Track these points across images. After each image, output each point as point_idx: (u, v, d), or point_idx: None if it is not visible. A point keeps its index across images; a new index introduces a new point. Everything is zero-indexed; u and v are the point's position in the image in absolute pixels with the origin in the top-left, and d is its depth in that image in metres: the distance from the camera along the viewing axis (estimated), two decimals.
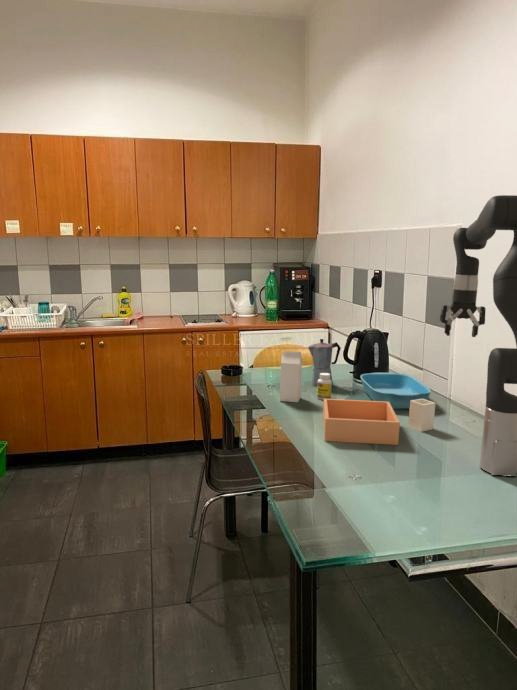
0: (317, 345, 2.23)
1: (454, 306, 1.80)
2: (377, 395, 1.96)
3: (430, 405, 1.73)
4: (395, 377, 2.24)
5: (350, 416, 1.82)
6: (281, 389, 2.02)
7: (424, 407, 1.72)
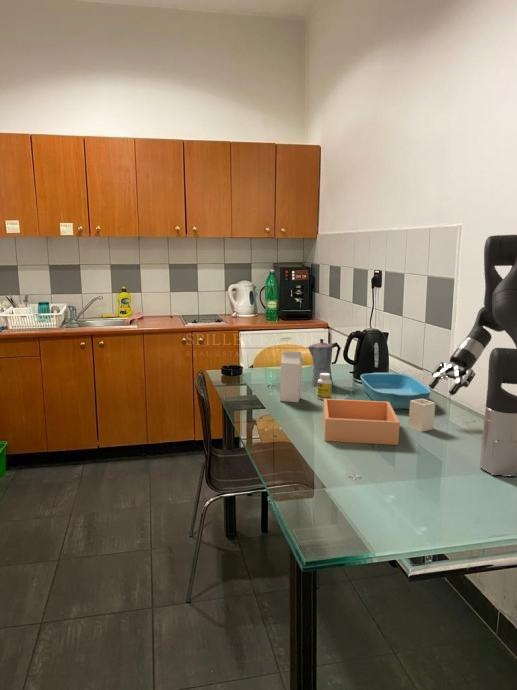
0: (317, 345, 2.23)
1: (448, 363, 1.83)
2: (377, 395, 1.96)
3: (430, 405, 1.73)
4: (395, 377, 2.24)
5: (350, 416, 1.82)
6: (281, 389, 2.02)
7: (424, 407, 1.72)
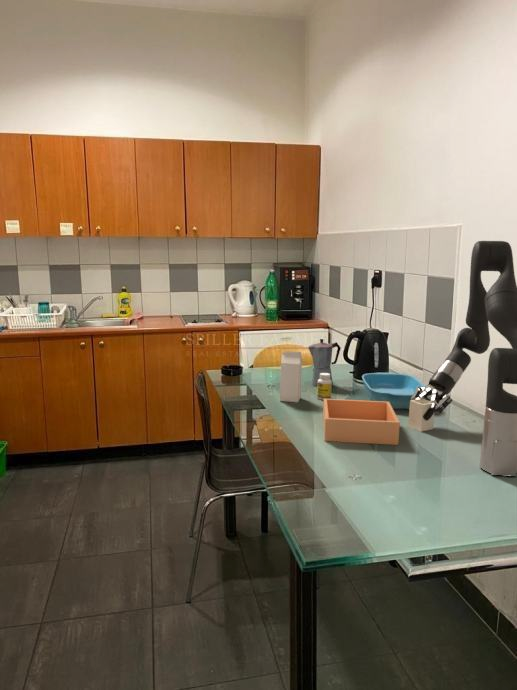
0: (317, 345, 2.23)
1: (426, 386, 1.79)
2: (374, 394, 1.97)
3: (430, 405, 1.73)
4: (398, 377, 2.24)
5: (350, 416, 1.82)
6: (281, 389, 2.02)
7: (424, 406, 1.72)
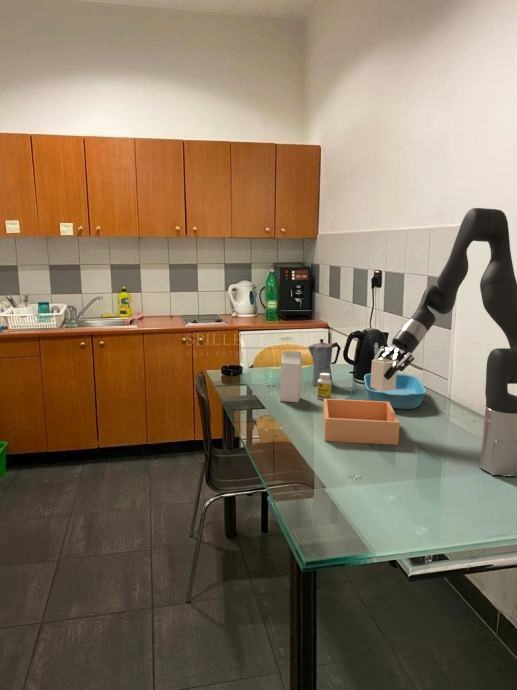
0: (317, 345, 2.23)
1: (389, 346, 1.75)
2: (369, 393, 1.98)
3: (391, 364, 1.68)
4: (402, 378, 2.23)
5: (350, 416, 1.82)
6: (281, 389, 2.02)
7: (385, 365, 1.67)
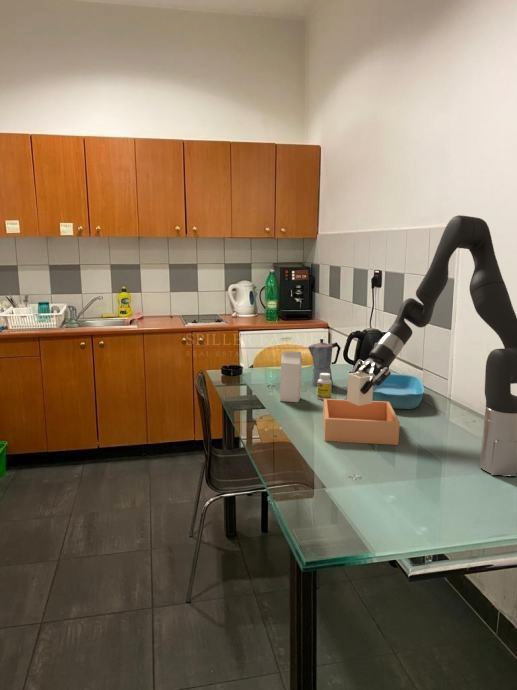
0: (317, 345, 2.23)
1: (366, 360, 1.74)
2: None
3: None
4: (404, 378, 2.23)
5: (350, 416, 1.82)
6: (281, 389, 2.02)
7: (361, 379, 1.66)
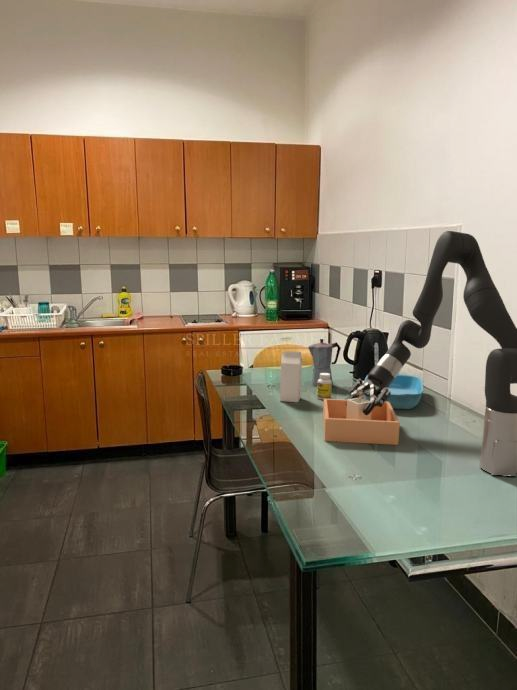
0: (317, 345, 2.23)
1: (365, 381, 1.75)
2: None
3: (366, 404, 1.69)
4: (407, 378, 2.22)
5: None
6: (281, 389, 2.02)
7: (360, 406, 1.67)
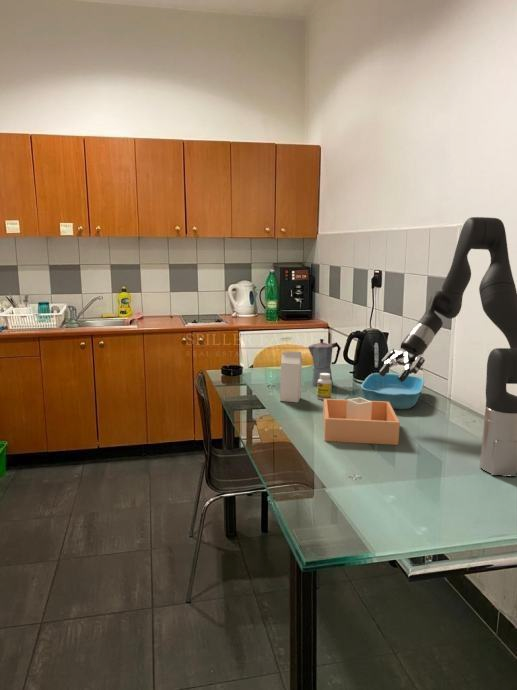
0: (317, 345, 2.23)
1: (398, 350, 1.78)
2: (362, 391, 2.01)
3: (366, 404, 1.69)
4: (410, 379, 2.21)
5: None
6: (281, 389, 2.02)
7: (360, 406, 1.67)
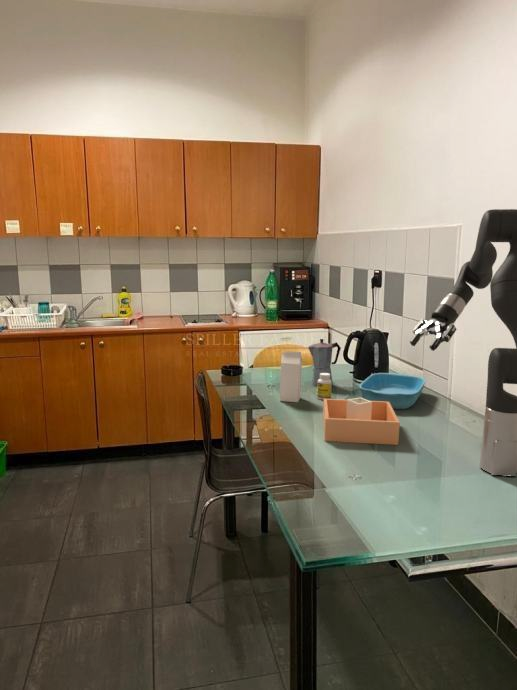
0: (317, 345, 2.23)
1: (429, 320, 1.79)
2: None
3: (366, 404, 1.69)
4: (412, 379, 2.21)
5: None
6: (281, 389, 2.02)
7: (360, 406, 1.67)
